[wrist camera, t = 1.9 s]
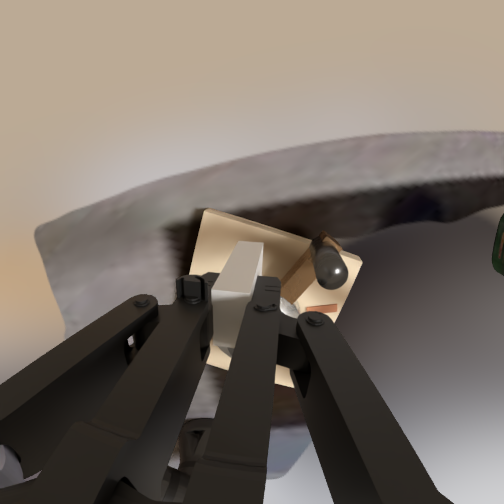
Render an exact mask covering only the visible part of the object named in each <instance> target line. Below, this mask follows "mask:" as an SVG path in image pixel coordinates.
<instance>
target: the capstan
mask: <svg viewBox="0 0 504 504" xmlns="http://www.w3.org/2000/svg"><path fill="white" fill-rule="evenodd" d="M341 250H342V248H341V246H340V244H339V243H338V242H337V241H336V240H335V239H334V238H333V237H331V236H330V235H329V234H328V233H327V232H325V231H324V230H323V231H322V232H321V234H320V235H319V236H318V237H316V238H314V239H313V240H312V241H311V243H310V246H309V248H308V249H307V250H306V251H305V252H304V254H303V255H302V256H301V257H300V258H299V260H298V261H297V262H296V263H295V264H294V265H293V266H292V268H291V269H290V270H289V271H288V272H287V273H286V275H285V276H284V277H283V278H282V279H281V280H280V281H281V294H280V309H281V311H282V312H283V313H284V314H286V315H288V316H290V317H293V318H297V317H298V316H299V315H300V314H301V312H300V307H299V303H298V301H297V299H298V298H299V297H300V296H301V295H302V294H303V293H304V291H305V290H306V289H307V288H308V287H309V286H310V285H311V284H312V283H313V282H314V281H315V279H317V282H318V283H319V285H320V286H321V287H323V288H324V289H327V290H335V289H338V288H340V287H342V286H343V285H344V284H345V283H346V281H347V279H348V268H347V266H346V264H345V263H344V261H343V259H342V257H341V255H340V254H339V252H340V251H341ZM212 338H213V336H212ZM218 347H219V348H220V350H221V351H223V352H224V353H225V354H226V355H228V356H229V357H231V358H232V355H233V351H234V348H230V347H222V346H218Z"/></svg>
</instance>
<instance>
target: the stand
mask: <svg viewBox="0 0 504 504" xmlns="http://www.w3.org/2000/svg"><path fill="white" fill-rule="evenodd" d="M238 241H248V242H261V243H264V244H263V261H262V276H269V277H278V279H279V280H281V279H282V278H283V277H284V276H285V275H286V273H287V272H288V271H289V270H290V269H291V268H292V266H293V265H294V264H295V263H296V262H297V261H298V260H299V258H300V257H301V256H302V255H303V254H304V252H305V251H306V250H307V249H308V248H309V246H310V243H311V241H312V240H309V239H306V238H303V237H300V236H297V235H294V234H291V233H288V232H285V231H282V230H279V229H276V228H272V227H269V226H266V225H263V224H260V223H257V222H254V221H250V220H247V219H244V218H241V217H238V216H234V215H231V214H228V213H224V212H221V211H218V210H215V209H211V208H208V209H206V210H205V211H204V214H203V217H202V222H201V226H200V230H199V234H198V238H197V242H196V246H195V251H194V255H193V259H192V264H191V268H190V273H189V275H201V276H202V275H203V274H205V273H207V272H215V273H221V271H222V269H223V268H224V266H225V264H226V262H227V260H228V259H229V257H230V255H231V253H232V251H233V250H234V248H235V246H236V244H237V243H238ZM339 254H340V255H341V257H342V259H343V261H344V263H345V264H346V266H347V268H348V279H347V281H346V283H345V284H344V285H343V286H342V287H340V288H338V289H335V290H327V289H324V288H323V287H321V286H320V285H319V283H318V282H317V279H315V281H314V282H313V283H312V284H311V285H310V286H309V287H308V288H307V289H306V290H305V291H304V293H303V294H302V295H301V296H300V297H299V298H298V299H297V301H298V303H299V307H300V312H301V313H303V312H307V311H318V312H322V313H324V314H326V315H328V316H329V317H330V318H331V319H332V321H333V322H335V320H336V318H337V316H338V314H339V312H340V310H341V308H342V306H343V304H344V302H345V299H346V298H347V296H348V294H349V291H350V289H351V287H352V285H353V282H354V280H355V278H356V276H357V274H358V271H359V269H360V267H361V265H362V261H361V259H360V258H359V256H356V255H354V254H351V253H348V252H344V251H342V250H341V251H340V252H339ZM230 362H231V357H229V356H228V355H226V354H225V353H224V352H223V351H221V350H220V348H219V347H218V346H214V345H213V338H212V339H211V341H210V354H209V357H208V360H207V362H206V363H207V364H210V365H213V366H216V367H220V368H223V369H226V370H228V369H229V365H230ZM275 383H276V384H280V385H284V386H289V387H293V388H294V385H293V382H292V379H291V376H290V371H289V368H286V367H283V366H280V365H276V374H275Z"/></svg>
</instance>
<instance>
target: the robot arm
mask: <svg viewBox="0 0 504 504" xmlns="http://www.w3.org/2000/svg"><path fill="white" fill-rule="evenodd" d="M263 244H264V243H261V242H248V241H238V243H237V244H236V246H235V248H234V250H233V251H232V253H231V255H230V257H229V259H228V260H227V262H226V264H225V266H224V268H223V269H222V271H221V273H215V272H207V273H205V274H203V275H202V276H201V275H184V276H181V277H179V278H177V279H176V289H177V299H176V300H175V301H174V303H173V304H172V305H158V301H157V299H156V297H154V296H152V295H147V294H144V295H143V294H140V295H137V296H134V297H131V298H130V299H128V300H126V301H125V302H123V303H122V304H120V305H119V306H117V307H115V308H114V309H112V310H111V311H109V312H108V313H106V314H105V315H103V316H101V317H100V318H98V319H97V320H95V321H94V322H92V323H91V324H89V325H88V326H86V327H85V328H83V329H82V330H80V331H79V332H77V333H76V334H74V335H72V336H71V337H69V338H68V339H66V340H65V341H63V342H62V343H60V344H59V345H58V346H56V347H55V348H53V349H52V350H50V351H49V352H47V353H46V354H44V355H43V356H41V357H40V358H38V359H37V360H36V361H34V362H32V363H31V364H30V365H28V366H27V367H25V368H24V369H22V370H21V371H19V372H18V373H17V374H15V375H14V376H12V377H11V378H9V379H8V380H7V381H6V382H4V383H2V384H1V385H0V504H263V499H264V491H265V483H266V474H267V457H268V448H269V438H270V428H271V418H272V408H273V397H274V385H275V374H276V365H280V366H283V367H286V368H289V371H290V376H291V379H292V382H293V385H294V388H295V391H296V394H297V397H298V400H299V403H300V406H301V409H302V412H303V415H304V417H305V420H306V423H307V426H308V429H309V432H310V435H311V438H312V441H313V444H314V447H315V449H316V453H317V455H318V458H319V461H320V464H321V467H322V470H323V473H324V476H325V479H326V482H327V485H328V488H329V490H330V493H331V496H332V499H333V502H334V504H454V503H453V502H451V501H450V500H449V499H447V498H446V497H445V496H444V495H442V494H441V493H440V492H439V491H438V490H437V488H436V487H435V485H434V483H433V481H432V480H431V478H430V476H429V475H428V473H427V471H426V469H425V467H424V466H423V464H422V463H421V461H420V459H419V457H418V456H417V454H416V452H415V450H414V449H413V447H412V445H411V444H410V442H409V440H408V439H407V437H406V435H405V434H404V433H403V431H402V429H401V427H400V426H399V424H398V422H397V421H396V419H395V417H394V416H393V414H392V412H391V411H390V409H389V408H388V406H387V405H386V403H385V401H384V400H383V398H382V397H381V395H380V393H379V392H378V390H377V389H376V387H375V385H374V384H373V382H372V381H371V379H370V378H369V376H368V374H367V373H366V371H365V370H364V368H363V366H362V365H361V363H360V362H359V360H358V359H357V358H356V356H355V354H354V353H353V351H352V350H351V348H350V346H349V345H348V343H347V342H346V340H345V339H344V337H343V336H342V334H341V333H340V331H339V330H338V328H337V327H336V325H335V324H334V322H333V321H332V319H331V318H330V317H329V316H328V315H326V314H324V313H322V312H318V311H307V312H303V313H301V314H300V315H299V316H298V317H297V318H293V317H290V316H288V315H286V314H284V313H283V312H282V311H281V309H280V294H281V281H280V280H279V279H278V277H269V276H262V261H263ZM130 336H133V341H134V343H133V344H132V345H129V344H128V340H127V339H128V338H129V337H130ZM212 336H213V345H214V346H222V347H230V348H234V351H233V355H232V358H231V362H230V365H229V369H228V372H227V376H226V379H225V383H224V386H223V390H222V393H221V397H220V400H219V404H218V407H217V411H216V414H215V418H214V419H197V420H192V421H190V422H188V423H186V424H185V425H184V426H183V423H184V420H185V418H186V415H187V412H188V410H189V407H190V404H191V402H192V399H193V397H194V394H195V391H196V389H197V386H198V383H199V381H200V378H201V375H202V373H203V370H204V368H205V365H206V362H207V360H208V357H209V354H210V341H211V339H212ZM182 426H183V428H182ZM181 428H182V430H181ZM180 431H181V433H180ZM179 434H180V436H179ZM178 436H179V452H180V464H179V467H178V470H177V469H175V468H172V467H170V466H168V463H169V460H170V458H171V455H172V452H173V450H174V447H175V444H176V442H177V439H178ZM41 470H42V471H41ZM39 471H41V473H40V474H39V475H38V477H37V478H35V479H32V480H29V481H25V480H24V479H26V478H28V477H30V476H32V475H34V474H36V473H38V472H39Z"/></svg>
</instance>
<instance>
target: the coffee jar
mask: <svg viewBox="0 0 504 504" xmlns="http://www.w3.org/2000/svg"><path fill="white" fill-rule="evenodd" d="M492 264H493V267H494V269H495V270H496V271H497V272H498V273H500V274H502V275H503V276H504V214H503V215H502V217H501V219H500V221H499V225H498V229H497V233H496V237H495V242H494V247H493V253H492Z"/></svg>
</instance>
